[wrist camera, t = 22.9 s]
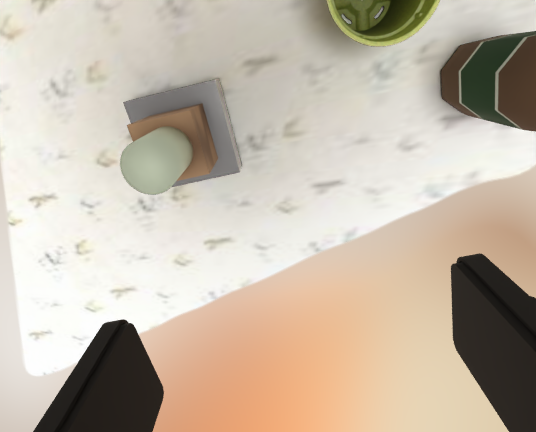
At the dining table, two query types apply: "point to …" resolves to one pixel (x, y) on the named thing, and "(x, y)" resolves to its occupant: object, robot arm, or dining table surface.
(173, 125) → the cube
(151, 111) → the plinth
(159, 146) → the tin
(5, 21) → the dining table surface
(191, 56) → the dining table surface
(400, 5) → the plant pot
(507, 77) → the beer bottle
